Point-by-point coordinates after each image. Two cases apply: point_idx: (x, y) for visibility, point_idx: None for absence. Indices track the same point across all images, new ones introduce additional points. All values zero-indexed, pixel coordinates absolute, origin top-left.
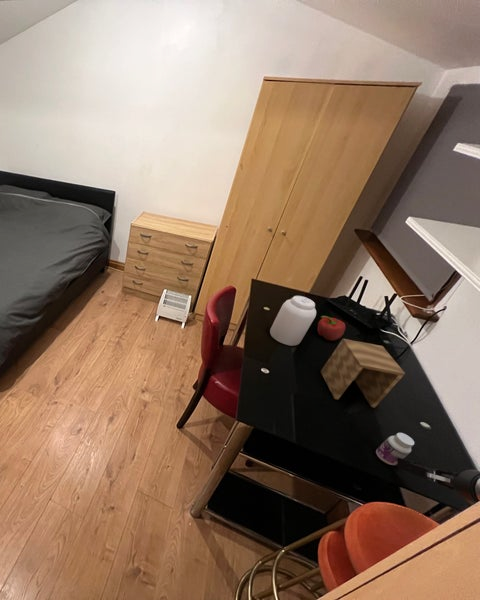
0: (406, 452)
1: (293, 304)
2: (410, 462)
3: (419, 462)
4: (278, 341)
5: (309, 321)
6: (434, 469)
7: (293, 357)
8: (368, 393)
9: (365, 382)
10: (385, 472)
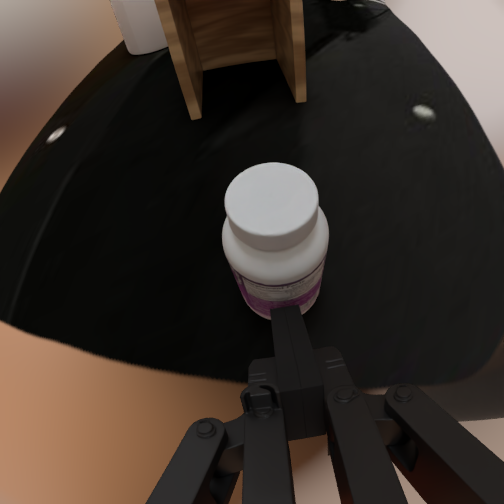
0: (292, 276)
1: None
2: (276, 359)
3: (276, 393)
4: (136, 54)
5: None
6: (342, 456)
7: (148, 68)
8: (287, 70)
9: (280, 47)
10: None
